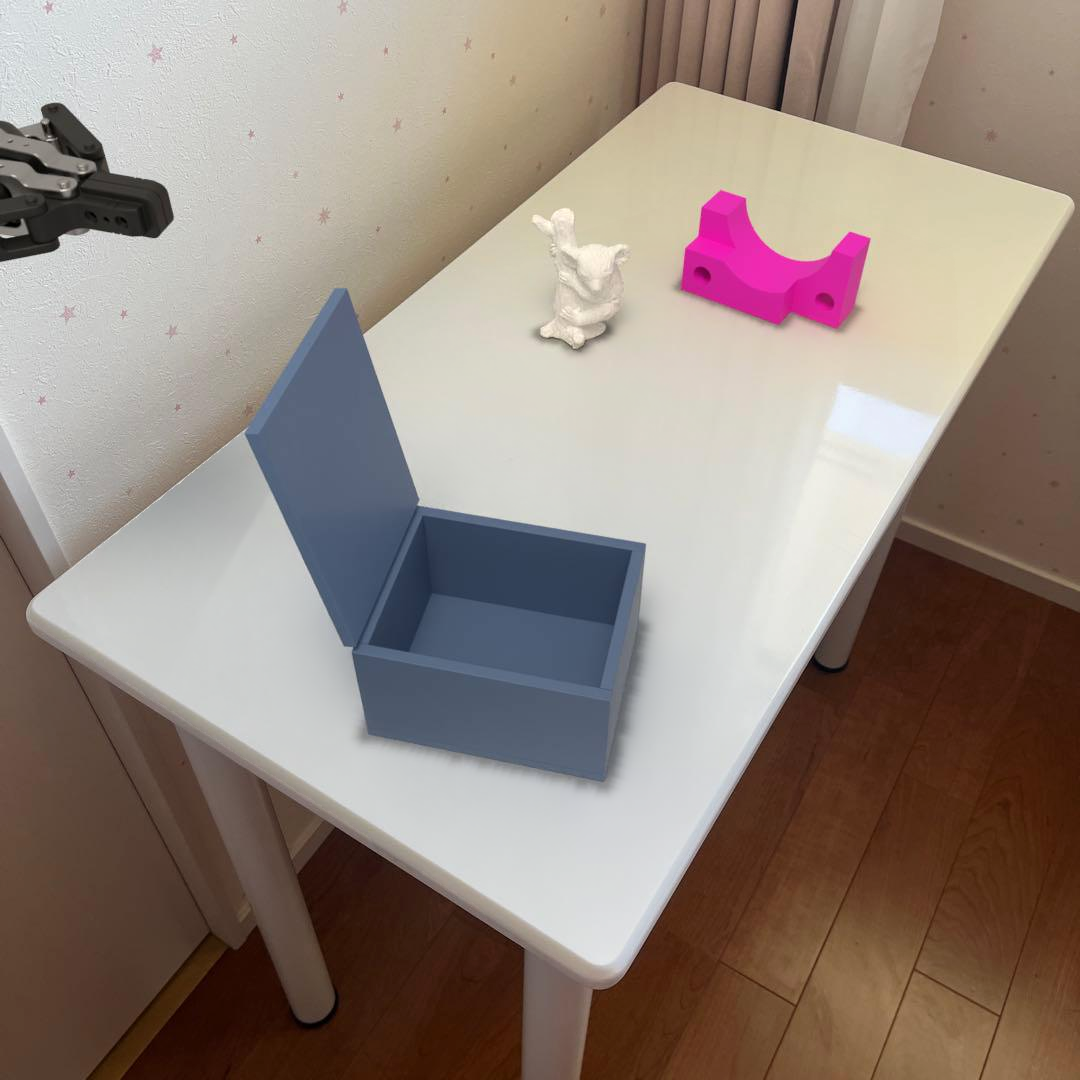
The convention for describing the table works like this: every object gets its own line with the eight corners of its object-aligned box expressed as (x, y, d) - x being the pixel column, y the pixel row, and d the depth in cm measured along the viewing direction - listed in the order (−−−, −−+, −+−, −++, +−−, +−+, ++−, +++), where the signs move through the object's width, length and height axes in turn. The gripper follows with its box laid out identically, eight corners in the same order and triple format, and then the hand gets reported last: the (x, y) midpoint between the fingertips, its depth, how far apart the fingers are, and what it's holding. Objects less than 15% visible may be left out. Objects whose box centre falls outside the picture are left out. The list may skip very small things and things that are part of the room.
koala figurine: (522, 345, 100) (520, 227, 91) (546, 304, 104) (546, 187, 95) (611, 364, 98) (618, 245, 89) (632, 321, 102) (641, 204, 93)
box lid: (347, 287, 62) (334, 287, 62) (258, 433, 53) (243, 433, 54) (420, 500, 73) (408, 499, 73) (355, 647, 65) (343, 646, 65)
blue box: (637, 628, 78) (646, 542, 71) (604, 782, 69) (610, 701, 63) (425, 590, 80) (415, 504, 74) (368, 734, 72) (350, 652, 65)
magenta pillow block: (680, 289, 106) (688, 219, 100) (711, 259, 109) (720, 189, 104) (825, 342, 100) (842, 271, 94) (853, 308, 103) (870, 238, 98)
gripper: (-48, 161, 62) (236, 210, 60) (-210, 293, 54) (114, 357, 51) (-101, 26, 57) (210, 74, 54) (-291, 150, 48) (68, 214, 46)
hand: (163, 212), depth 53 cm, fingers closed
